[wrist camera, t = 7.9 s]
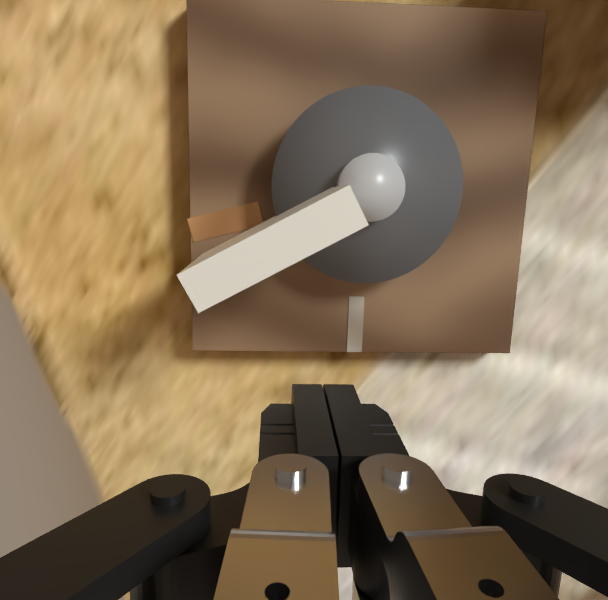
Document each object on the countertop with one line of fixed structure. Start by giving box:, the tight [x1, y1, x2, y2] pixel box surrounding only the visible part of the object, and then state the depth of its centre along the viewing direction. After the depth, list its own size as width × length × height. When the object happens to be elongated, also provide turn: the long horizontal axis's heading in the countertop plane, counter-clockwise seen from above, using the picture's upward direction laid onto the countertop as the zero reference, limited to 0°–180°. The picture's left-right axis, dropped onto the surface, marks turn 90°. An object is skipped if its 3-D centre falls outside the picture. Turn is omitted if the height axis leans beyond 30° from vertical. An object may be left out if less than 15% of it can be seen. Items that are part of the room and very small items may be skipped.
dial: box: [177, 85, 463, 313], centre depth 22 cm, size 13×9×7 cm
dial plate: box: [187, 0, 547, 353], centre depth 26 cm, size 17×17×2 cm
